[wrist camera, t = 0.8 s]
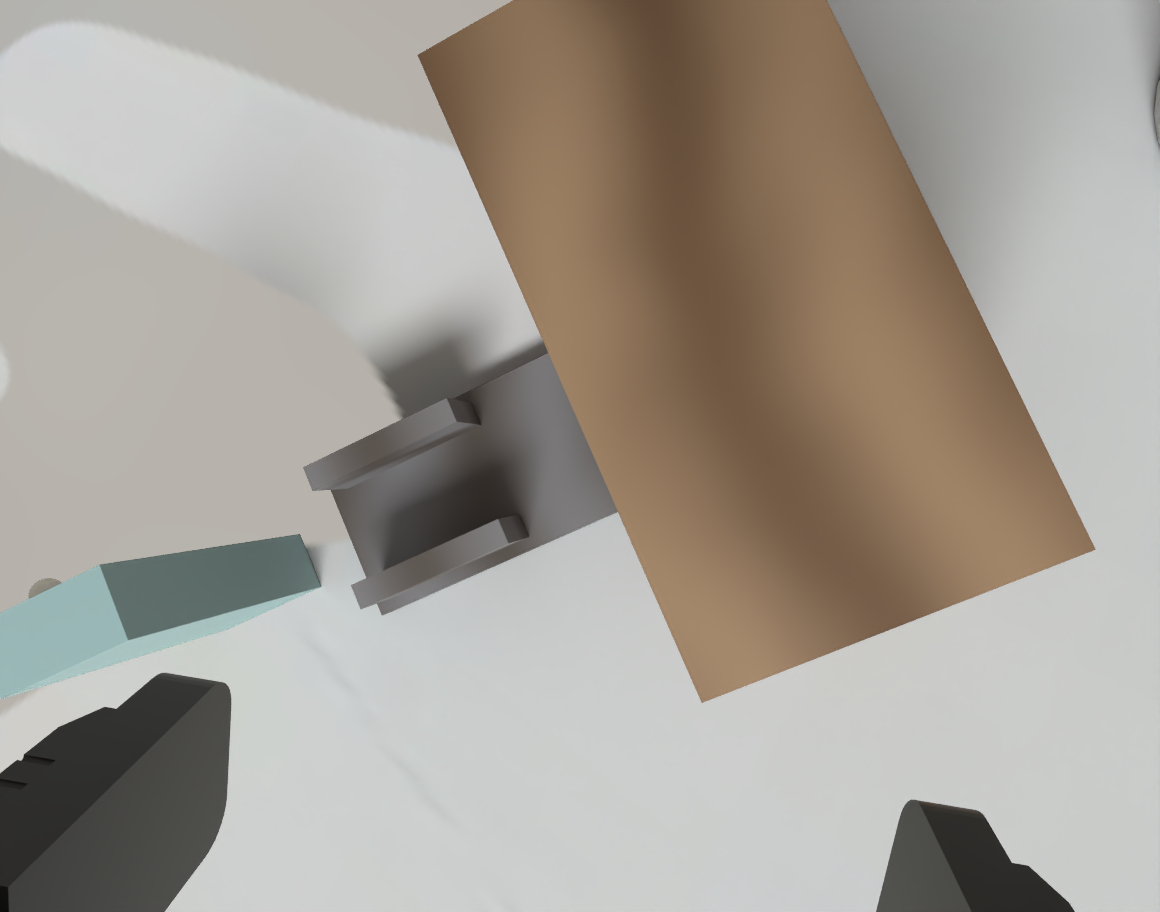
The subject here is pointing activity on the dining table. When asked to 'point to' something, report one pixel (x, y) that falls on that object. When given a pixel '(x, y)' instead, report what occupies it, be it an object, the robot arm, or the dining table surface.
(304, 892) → the dining table surface
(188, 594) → the tall teal block
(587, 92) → the hinge cabinet
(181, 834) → the robot arm
